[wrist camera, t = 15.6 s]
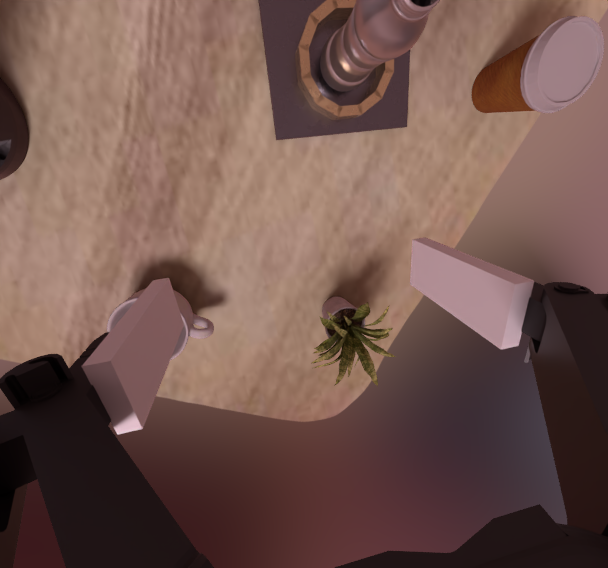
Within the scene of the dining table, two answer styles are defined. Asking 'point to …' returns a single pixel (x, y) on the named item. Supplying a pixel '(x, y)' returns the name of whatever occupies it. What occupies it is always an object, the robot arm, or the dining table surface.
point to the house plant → (349, 336)
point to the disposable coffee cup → (543, 70)
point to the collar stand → (310, 83)
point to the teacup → (185, 314)
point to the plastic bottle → (372, 39)
